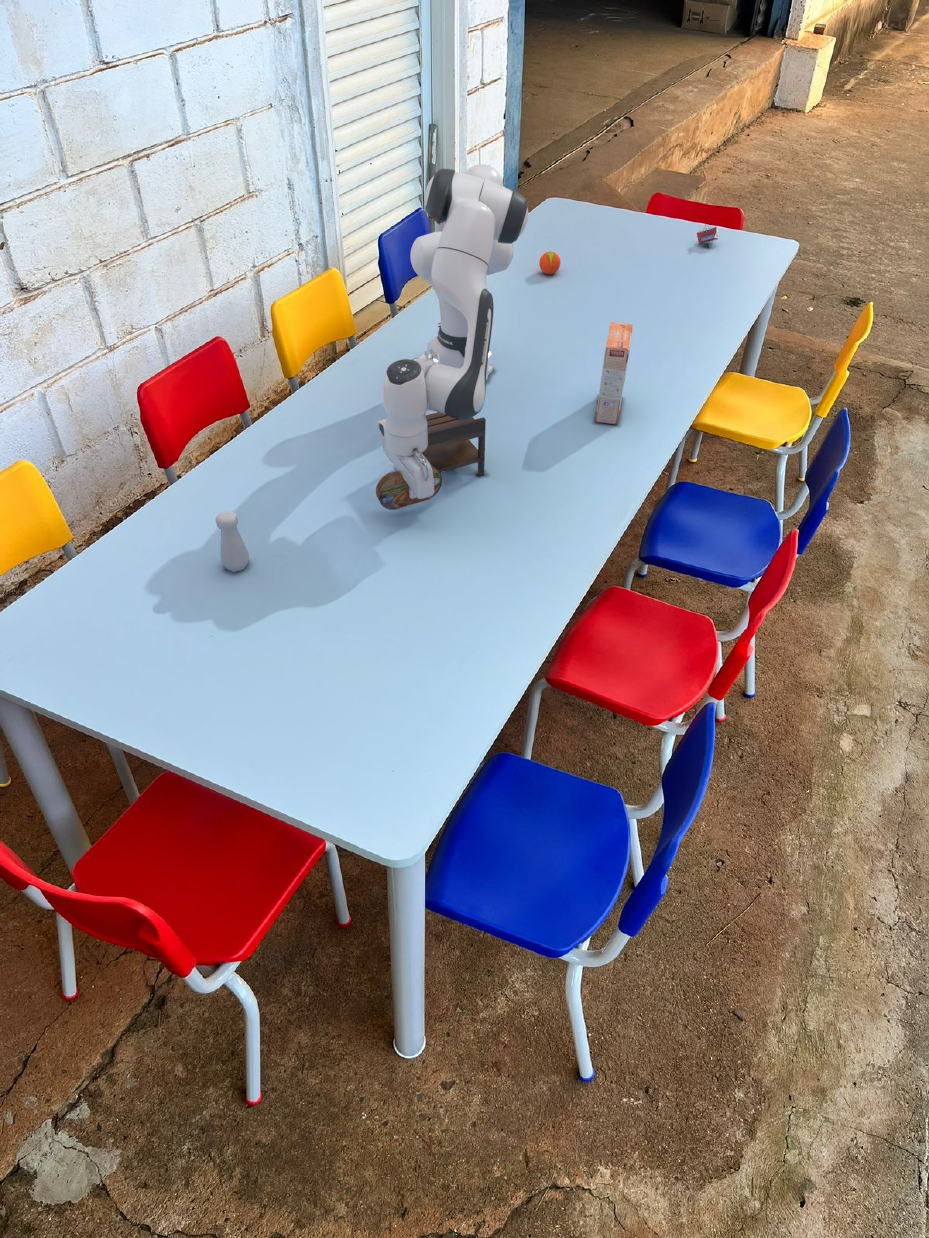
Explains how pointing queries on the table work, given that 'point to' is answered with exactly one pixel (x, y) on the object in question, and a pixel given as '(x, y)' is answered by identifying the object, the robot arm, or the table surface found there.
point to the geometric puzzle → (708, 235)
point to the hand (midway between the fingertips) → (409, 491)
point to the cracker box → (614, 372)
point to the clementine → (549, 262)
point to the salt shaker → (231, 542)
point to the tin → (401, 490)
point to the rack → (454, 442)
